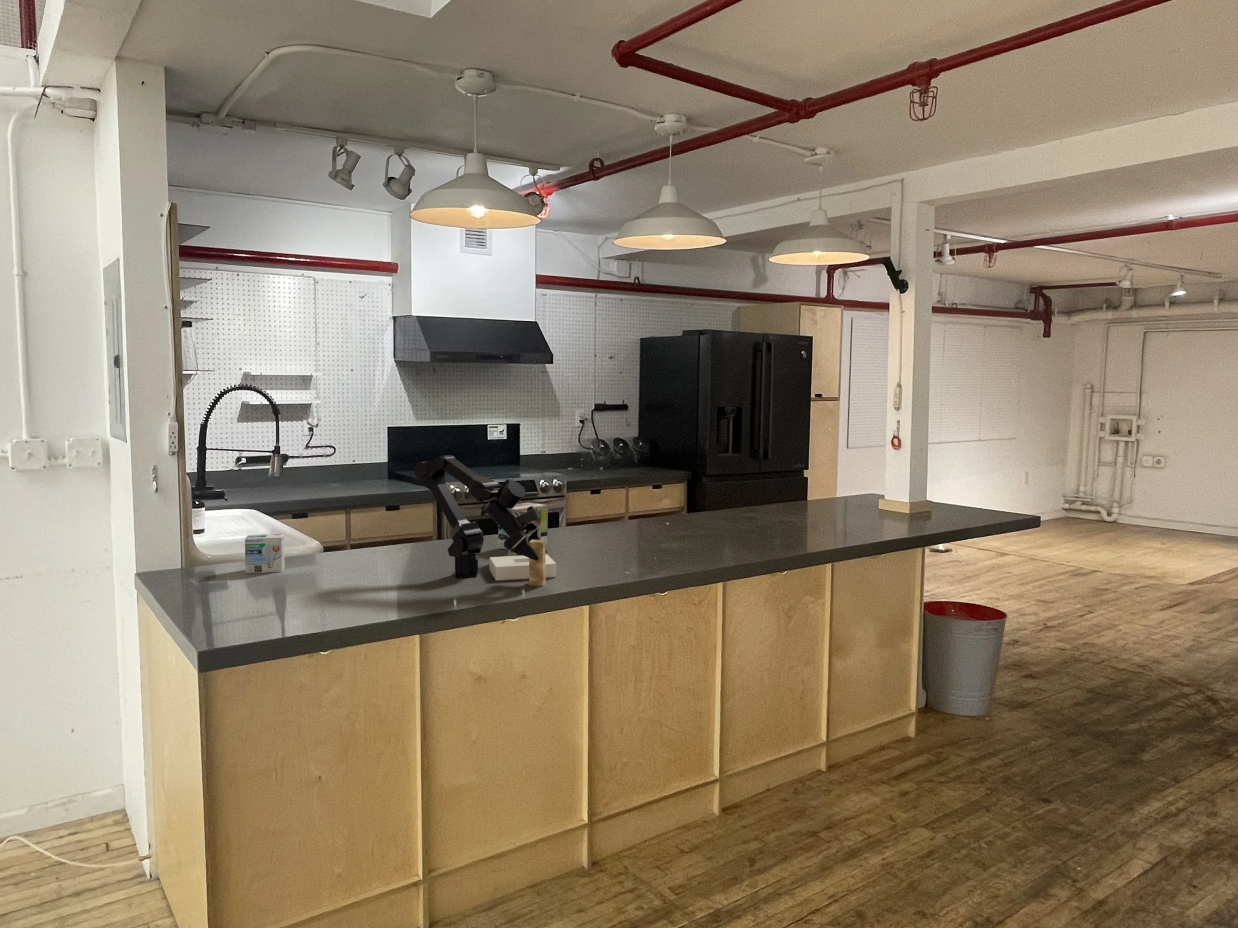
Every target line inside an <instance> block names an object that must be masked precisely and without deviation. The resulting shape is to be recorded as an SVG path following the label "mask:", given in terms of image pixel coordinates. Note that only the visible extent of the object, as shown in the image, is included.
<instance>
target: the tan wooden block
mask: <svg viewBox="0 0 1238 928" xmlns="http://www.w3.org/2000/svg"><path fill="white" fill-rule="evenodd" d="M529 544H530V546H531V547H532V549H533V550H534V551H535V553H536V554H537V556H538V557H539V559H538V560H537V561H535V560H533V559H530V558H529V580H528V581H529V582H528V583H529V584H528V586H536V587H537V586H539V587H541V586H544V585H545V584H546V578H545V549H546V546H545V540H531V541H530V542H529Z"/></svg>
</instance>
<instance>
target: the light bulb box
mask: <svg viewBox="0 0 1238 928" xmlns="http://www.w3.org/2000/svg"><path fill="white" fill-rule="evenodd" d="M284 538H285V535H284V533H265V534H264V533H263V534H247V536H246V537H245V538H244V559H245V560H244V561H245V574H263V573H264V574H265V573H283V571H284V569H285V565H286V563H285V562H286V561H285V539H284Z"/></svg>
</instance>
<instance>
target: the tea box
mask: <svg viewBox="0 0 1238 928" xmlns="http://www.w3.org/2000/svg"><path fill="white" fill-rule="evenodd" d="M532 505H533V506H534V507H535V508H536V507H537V508H538V509H539V510H540V511H541V540H545V547H546V546H548V525H549V524H548V523H549V522H548V519H549V517H548V515H549V514H548V513H549V509H548V508H549V506H548V505H547V504H544V503H543V504H542V503H535V502H524V503H517V504H516V505H515V506H514V507H513V508H511V510H522V509H527V508H528V507H530V506H532ZM497 529H498V531H497V532H498V535H497V537H498V538H497V547H498V548H499V549H502V550H506V551H508V550H507V549H506V548H505V547H504V541H505V540H506V539H507V538H508V535H507V534H506V533H505V531H504V530H503V529H502V530H500V529H499V528H498V527H497Z"/></svg>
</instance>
